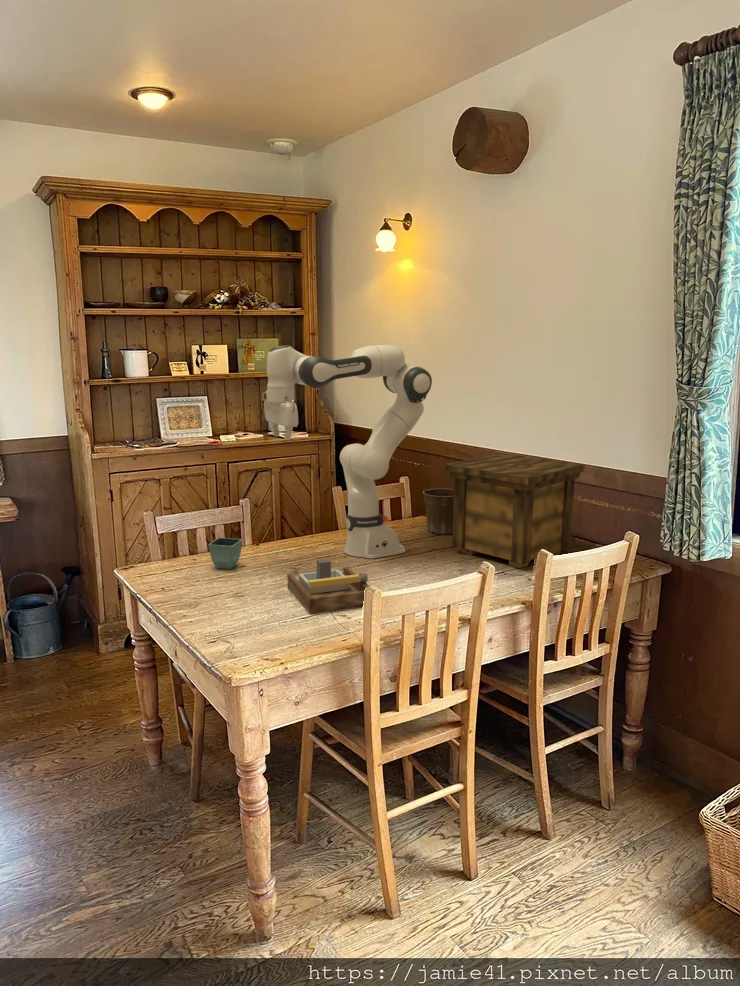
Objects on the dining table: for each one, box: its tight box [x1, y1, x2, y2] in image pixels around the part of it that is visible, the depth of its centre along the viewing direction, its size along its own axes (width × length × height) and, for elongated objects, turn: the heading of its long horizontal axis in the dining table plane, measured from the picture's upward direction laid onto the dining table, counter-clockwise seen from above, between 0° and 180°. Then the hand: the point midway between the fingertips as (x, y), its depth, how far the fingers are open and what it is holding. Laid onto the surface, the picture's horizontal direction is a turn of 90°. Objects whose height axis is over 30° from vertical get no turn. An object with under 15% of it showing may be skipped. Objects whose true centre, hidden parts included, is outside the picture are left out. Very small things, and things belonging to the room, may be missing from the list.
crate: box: [444, 452, 586, 569], centre depth 272 cm, size 35×35×33 cm
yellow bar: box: [308, 572, 369, 588], centre depth 226 cm, size 18×3×2 cm, turn 111°
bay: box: [287, 566, 370, 615], centre depth 230 cm, size 20×24×5 cm
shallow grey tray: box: [298, 558, 349, 594], centre depth 234 cm, size 13×11×8 cm
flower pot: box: [208, 537, 243, 570], centre depth 257 cm, size 9×9×9 cm
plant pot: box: [422, 487, 454, 536], centre depth 303 cm, size 16×16×16 cm
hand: (281, 437), depth 251 cm, fingers open, 8 cm apart
